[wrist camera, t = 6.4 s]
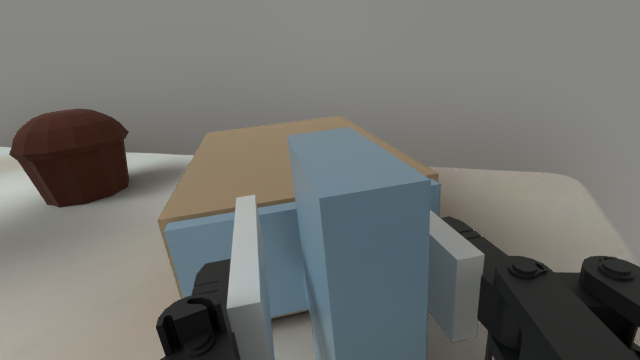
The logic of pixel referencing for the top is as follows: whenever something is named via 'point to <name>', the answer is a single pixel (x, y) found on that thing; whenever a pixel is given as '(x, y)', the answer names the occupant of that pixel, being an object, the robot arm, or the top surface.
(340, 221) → the blue-handled drawer
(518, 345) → the robot arm
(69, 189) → the muffin
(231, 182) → the drawer cabinet
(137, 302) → the top surface
